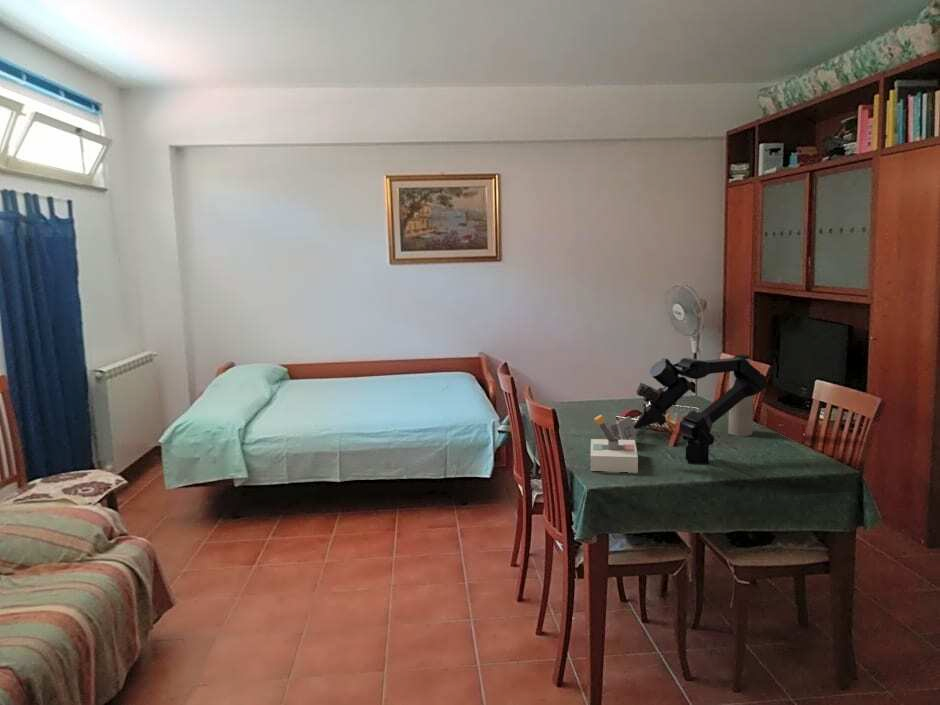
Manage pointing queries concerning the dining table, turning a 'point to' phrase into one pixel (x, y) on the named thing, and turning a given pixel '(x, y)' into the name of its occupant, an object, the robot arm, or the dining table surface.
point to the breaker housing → (614, 455)
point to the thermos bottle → (741, 411)
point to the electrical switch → (624, 429)
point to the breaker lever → (604, 428)
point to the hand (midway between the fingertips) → (634, 427)
